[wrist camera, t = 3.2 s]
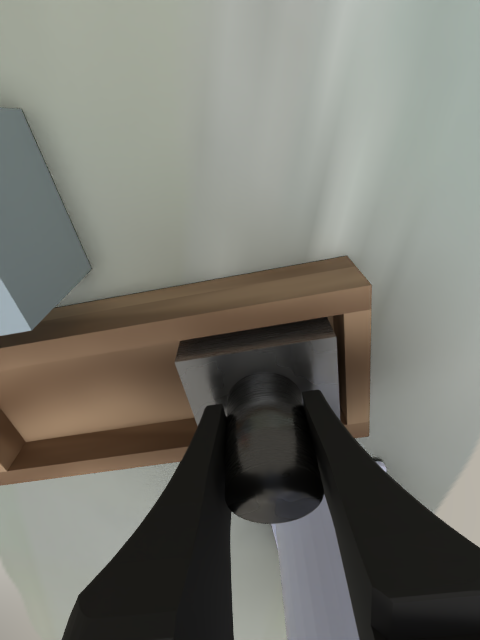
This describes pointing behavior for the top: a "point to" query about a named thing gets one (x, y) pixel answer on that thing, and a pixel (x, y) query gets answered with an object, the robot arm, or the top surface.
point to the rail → (158, 367)
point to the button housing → (32, 232)
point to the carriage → (265, 411)
